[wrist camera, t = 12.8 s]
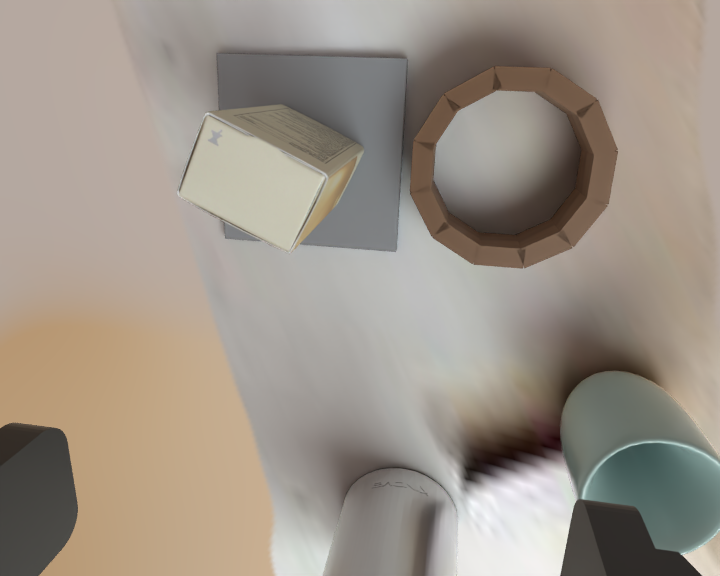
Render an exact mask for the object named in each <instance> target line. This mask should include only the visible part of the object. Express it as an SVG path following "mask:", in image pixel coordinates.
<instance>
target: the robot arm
mask: <svg viewBox="0 0 720 576" xmlns="http://www.w3.org/2000/svg"><path fill="white" fill-rule="evenodd" d="M77 513H78V505H77V498H76V492H75V486H74V479H73V473H72V467H71V461H70V455H69V449H68V442H67V438H66V436H65V434H64V433H63V431H61V430H60V429H57V428H52V427H44V426H37V425H29V424H21V423H10V424H7V425H5V426H3V427H2V428H0V576H39V575H40V574H41V572H42V571H43V570H44V569H45V568H46V567H47V565H48V564H49V563H50V562H51V561H52V560H53V559H54V558H55V556H56V555H57V554H58V553H59V552H60V551H61V550H62V548H63V547H64V546H65V544H66V543H67V541H68V540H69V538H70V536H71V534H72V532H73V529H74V526H75V523H76V519H77ZM457 553H458V520H457V512H456V509H455V506H454V504H453V501H452V499H451V498H450V496H449V495H448V494H447V492H446V491H445V490H444V489H443V488H442V487H441V486H440V485H439V484H438V483H437V482H435V481H433V480H432V479H430V478H429V477H427V476H425V475H423V474H420V473H418V472H415V471H411V470H407V469H400V468H387V469H380V470H376V471H373V472H371V473H368V474H366V475H364V476H363V477H361V478H359V479H358V480H357V481H356V482H355V483H354V484H353V485H352V486H351V487H350V489H349V491H348V492H347V494H346V497H345V500H344V504H343V507H342V510H341V514H340V517H339V521H338V524H337V528H336V531H335V534H334V537H333V541H332V544H331V548H330V551H329V555H328V558H327V562H326V565H325V569H324V572H323V576H457ZM560 576H702V575H701V574H700V573H699V572H698V571H697V570H696V569H695V568H694V567H693V566H692V565H691V564H690V563H689V562H688V561H687V560H686V559H685V558H684V557H683V556H682V555H681V554H680V553H679V552H676V551H668V550H661V549H656V548H655V546H654V544H653V542H652V539H651V537H650V535H649V532H648V530H647V528H646V525H645V523H644V521H643V518H642V516H641V514H640V512H639V511H638V509H637V508H636V507H635V506H629V505H622V504H614V503H607V502H599V501H591V500H584V499H578V500H577V501H576V503H575V505H574V509H573V513H572V518H571V524H570V529H569V534H568V539H567V544H566V549H565V555H564V560H563V565H562V570H561V575H560Z"/></svg>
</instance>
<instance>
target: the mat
mask: <svg viewBox="0 0 720 576" xmlns="http://www.w3.org/2000/svg"><path fill="white" fill-rule="evenodd" d="M407 64H408V59H404V58H369V57H335V56H300V55H266V54H231V53H217V73H218V95H219V110H228V109H239V108H249V107H260V106H269V105H279V104H282V105H285V106H287V107H289V108H291V109H293V110H295V111H297V112H299V113H301V114H303V115H305V116H307V117H309V118H311V119H313V120H315V121H317V122H319V123H321V124H323V125H325V126H327V127H329V128H331V129H332V130H334V131H336V132H338V133H340V134H342V135H343V136H345V137H347V138H349V139H351V140H352V141H354V142H356V143H358V144H359V145H361V146H362V147H363V148H364V153H363V155H362V157H361V159H360V161H359V163H358V165H357V167H356V170H355V172H354V174H353V176H352V178H351V179H350V181H349V183H348V185H347V187H346V189H345V191H344V193H343V195H342V197H341V199H340V200H339V202H338V204H337V205H336V206H335V207H334V208H333V209H332V210H331V211H330V212H329V214H328V215H327V216H326V217H325V218H324V219H323V220H322V221H321V222H320V223H319V224H318V225H317V226H316V227H315V228H314V229H313V230H312V231H311V233H310V234H309V235H308V236H307V237H306V238H305V239H304V240H303V241H302V242H301V243H300V244H302V245H315V246H327V247H340V248H353V249H366V250H378V251H391V252H396V250H397V234H398V217H399V200H400V183H401V166H402V149H403V132H404V115H405V98H406V81H407ZM224 226H225V238H226V239H238V240H251V241H261V240H259V239H257V238H255V237H253V236H251V235H249V234H247V233H245V232H243V231H241V230H239V229H237V228H235V227H233V226H231V225H229V224H227V223H225V222H224Z"/></svg>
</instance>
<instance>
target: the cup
mask: <svg viewBox="0 0 720 576" xmlns="http://www.w3.org/2000/svg"><path fill="white" fill-rule="evenodd" d="M560 433H561V446H562V452H563V457H564V461H565V465H566V469H567V473H568V476H569V480H570V484H571V487H572V490H573V494H574V497H575V500H576V501H577V500H578V499H584V500H591V501H599V502H607V503H614V504H622V505H629V506H635V507H636V508H637V509H638V511H639V512H640V514H641V516H642V518H643V521H644V523H645V525H646V528H647V530H648V532H649V535H650V537H651V539H652V542H653V544H654V546H655V548H656V549H661V550H668V551H676V552H679V553H680V554H681V555H683V554H686V553H689V552H692V551H694V550H696V549H698V548H699V547H701V546H703V545H705V544H706V543H707V542H708V541H710V540H711V539H712V538H713V537H715V536H716V534H717V533H718V532H719V531H720V455H719V453H718V452H717V451H716V449H715V448H714V446H713V445H712V444H711V442H710V441H709V439H708V438H707V437H706V435H705V434H704V433H703V431H702V430H701V428H700V427H699V426H698V424H697V423H696V422H695V421H694V419H693V418H692V417H691V416H690V414H689V413H688V412H687V411H686V410H685V409H684V408H683V407H682V406H681V404H680V403H679V402H678V401H677V400H676V399H675V398H674V397H673V396H672V395H670V394H669V393H668V392H667V391H666V390H665V389H663V388H662V387H660V386H659V385H657V384H656V383H654V382H653V381H651V380H649V379H646V378H644V377H642V376H640V375H637V374H634V373H630V372H625V371H603V372H599V373H595V374H593V375H591V376H589V377H587V378H586V379H584V380H583V381H582V382H580V383H579V384H578V385H577V386H576V387H575V388H574V389H573V390H572V392H571V393H570V395H569V396H568V398H567V400H566V403H565V405H564V408H563V411H562V416H561V422H560Z"/></svg>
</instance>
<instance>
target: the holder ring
mask: <svg viewBox="0 0 720 576" xmlns="http://www.w3.org/2000/svg"><path fill="white" fill-rule="evenodd" d="M496 90H501V91H529V92H535V93H537V94H538V95H540V96H541V97H543V98H544V99H546V100H547V101H549V102H550V103H551V104H553V105H554V106H556V107H557V108H559V109H560V110H562V111H563V112H565V113H566V114H567V116H568V119H569V121H570V123H571V126H572V128H573V131H574V133H575V135H576V138H577V140H578V143H579V145H580V148H581V155H580V161H579V167H578V173H577V180H576V186H575V189H574V190H573V192H572V193H571V194H570V195H569V197H568V198H567V199H566V201H565V202H564V203H563V204H562V206H561V207H560V208H559V209H558V211H557V212H556V213H555V214H554V216H553V217H552V218H551V219H550V220H548V221H546V222H543V223H541V224H539V225H537V226H534V227H532V228H530V229H528V230H525V231H523V232H521V233H519V234H516V235H509V234H496V233H482V232H477V231H476V230H474V229H473V228H471V227H470V226H468V225H467V224H465V223H464V222H462V221H461V220H459V219H458V218H456V217H455V216H453V215H452V214H450V213H449V212H448V210H447V208H446V205H445V203H444V201H443V199H442V197H441V195H440V193H439V191H438V189H437V187H436V185H435V183H434V181H433V176H434V163H435V150H436V143H437V142H438V140H439V139H440V137H441V136H442V134H443V133H444V131H445V130H446V128H447V127H448V125H449V124H450V122H451V120H452V119H453V117H454V116H455V114H456V113H457V111H459V110H460V109H462V108H464V107H466V106H468V105H470V104H472V103H474V102H476V101H478V100H479V99H481V98H483V97H485V96H487V95H489V94H491V93H493V92H495V91H496ZM616 150H618V149H617V147H616V144H615V142H614V139H613V137H612V134H611V131H610V129H609V126H608V124H607V121H606V119H605V116H604V114H603V111H602V109H601V106H600V104H599V101H598V100H597V99H596V98H595V97H593V96H592V95H590V94H589V93H588V92H586V91H585V90H583V89H582V88H580V87H579V86H577V85H576V84H574V83H573V82H572V81H570V80H569V79H567V78H566V77H564V76H563V75H561V74H560V73H558V72H557V71H555V70H554V69H553V68H552V69H551V68H540V67H506V66H495V67H492V68H490V69H488V70H486V71H484V72H482V73H481V74H479V75H477V76H475V77H473V78H471V79H469V80H468V81H466V82H464V83H462V84H460V85H458V86H457V87H455V88H453V89H451V90H449V91H447V92H446V93H444V94H443V95H442V97H441V98H440V100H439V101H438V103H437V104H436V106H435V107H434V109H433V111H432V112H431V114H430V115H429V117H428V118H427V120H426V121H425V123H424V125H423V126H422V128H421V129H420V131H419V132H418V134H417V135H416V137H415V139H414V141H413V152H412V167H411V183H410V192H411V193H410V194H411V196H412V198H413V200H414V202H415V204H416V206H417V208H418V210H419V212H420V214H421V216H422V218H423V220H424V222H425V224H426V226H427V228H428V230H429V232H430V234H431V236H433V238H434V239H435V240H437V241H438V242H440V243H441V244H443V245H444V246H446V247H447V248H449V249H450V250H452V251H453V252H455V253H456V254H458V255H459V256H461V257H463V258H464V259H466V260H467V261H469V262H470V263H472V264H473V262H474V265H486V266H498V267H511V268H523V266H524V268H526V267H529V266H531V265H533V264H536V263H538V262H541V261H543V260H545V259H548V258H550V257H552V256H555V255H557V254H559V253H562V252H564V251H566V250H569V249H571V248H572V246H573V247H574V246H575V245H576V244H577V242H578V241H579V240H580V239H581V238H582V236H583V235H584V234H585V233H586V231H587V230H588V229H589V228H590V227H591V225H592V224H593V223H594V222H595V221H596V219H597V218H598V217H599V216H600V214H601V213H602V212H603V211H604V210H605V208H606V207H607V205H606V204H609V198H610V193H611V187H612V182H613V176H614V171H615V165H616V160H617V154H618V151H616Z"/></svg>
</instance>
